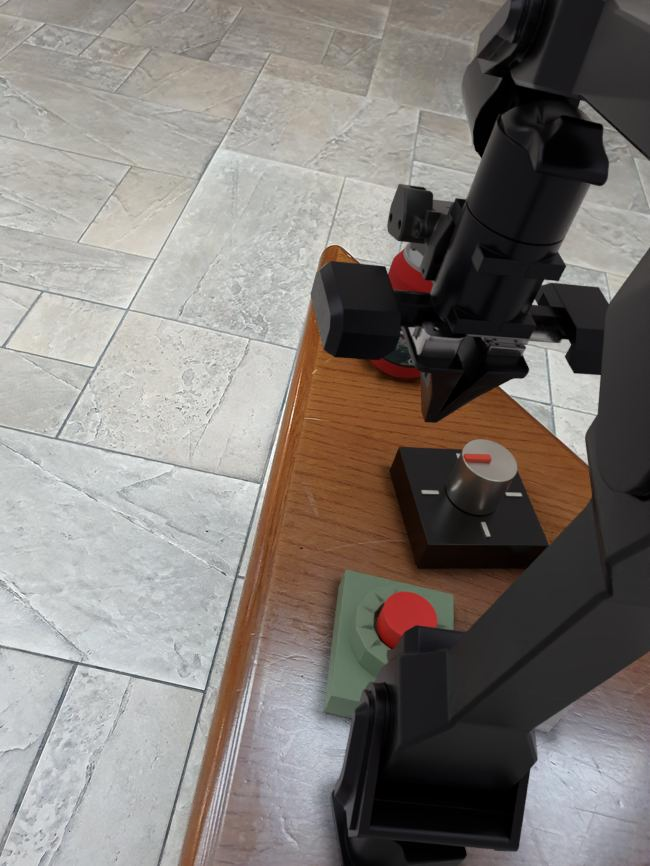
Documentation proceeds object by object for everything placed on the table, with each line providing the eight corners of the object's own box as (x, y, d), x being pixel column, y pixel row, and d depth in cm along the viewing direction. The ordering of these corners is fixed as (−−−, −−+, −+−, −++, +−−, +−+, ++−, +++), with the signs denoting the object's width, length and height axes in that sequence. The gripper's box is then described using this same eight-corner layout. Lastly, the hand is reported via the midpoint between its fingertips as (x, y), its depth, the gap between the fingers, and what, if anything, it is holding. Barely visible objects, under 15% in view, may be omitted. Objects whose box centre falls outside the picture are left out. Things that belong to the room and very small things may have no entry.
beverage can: (385, 389, 79) (424, 283, 71) (349, 344, 83) (382, 238, 75) (442, 377, 82) (486, 274, 74) (405, 334, 86) (443, 231, 78)
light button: (428, 659, 55) (437, 644, 54) (374, 646, 55) (381, 631, 54) (429, 612, 58) (437, 598, 56) (378, 600, 57) (385, 585, 56)
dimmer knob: (489, 473, 70) (508, 437, 67) (506, 515, 67) (527, 479, 64) (439, 472, 68) (456, 435, 66) (454, 515, 65) (473, 478, 63)
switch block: (443, 739, 55) (463, 709, 53) (323, 712, 55) (337, 681, 52) (444, 611, 63) (462, 579, 60) (338, 586, 62) (351, 553, 59)
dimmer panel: (534, 568, 68) (550, 544, 65) (416, 568, 65) (429, 543, 63) (497, 474, 74) (510, 449, 72) (388, 471, 72) (399, 444, 70)
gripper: (610, 160, 54) (517, 347, 65) (326, 119, 49) (276, 329, 60) (688, 265, 47) (568, 457, 57) (362, 229, 42) (298, 446, 52)
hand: (428, 417), depth 57 cm, fingers closed
